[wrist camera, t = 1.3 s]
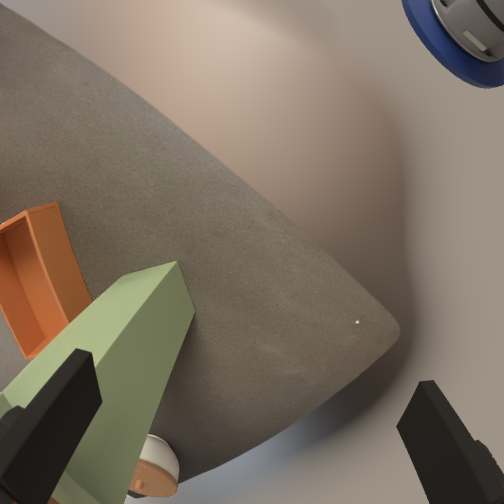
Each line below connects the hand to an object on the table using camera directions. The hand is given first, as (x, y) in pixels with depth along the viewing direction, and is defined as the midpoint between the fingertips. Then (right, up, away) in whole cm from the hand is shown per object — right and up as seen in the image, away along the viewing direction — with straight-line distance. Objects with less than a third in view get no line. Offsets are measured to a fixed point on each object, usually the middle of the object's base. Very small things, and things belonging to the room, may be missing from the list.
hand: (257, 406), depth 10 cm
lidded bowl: (-19, -30, +36) cm, 51 cm away
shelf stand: (-13, +2, +27) cm, 30 cm away
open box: (-30, +2, +27) cm, 40 cm away
